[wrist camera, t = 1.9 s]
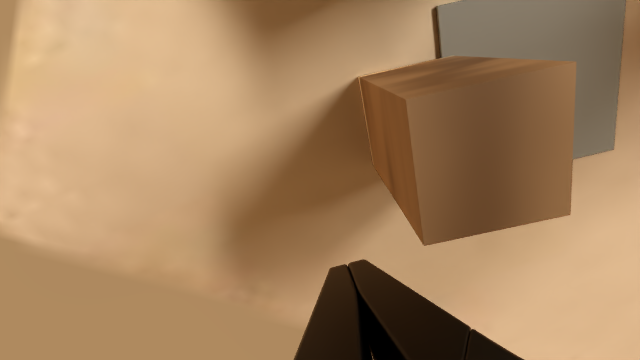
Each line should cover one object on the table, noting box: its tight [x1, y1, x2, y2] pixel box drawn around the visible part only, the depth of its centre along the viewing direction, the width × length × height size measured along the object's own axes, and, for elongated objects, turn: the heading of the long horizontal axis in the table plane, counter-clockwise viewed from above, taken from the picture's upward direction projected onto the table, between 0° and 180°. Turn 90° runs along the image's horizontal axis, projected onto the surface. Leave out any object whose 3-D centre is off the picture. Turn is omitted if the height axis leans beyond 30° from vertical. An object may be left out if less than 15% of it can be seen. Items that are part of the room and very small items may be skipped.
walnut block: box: [358, 56, 576, 246], centre depth 15 cm, size 5×5×9 cm
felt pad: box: [436, 0, 626, 159], centre depth 20 cm, size 10×10×1 cm
